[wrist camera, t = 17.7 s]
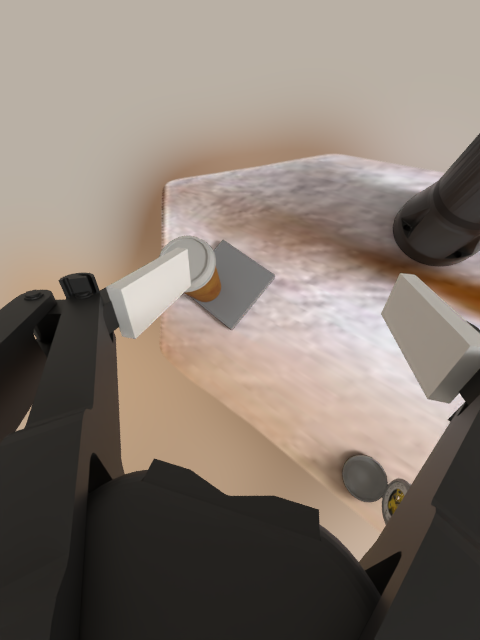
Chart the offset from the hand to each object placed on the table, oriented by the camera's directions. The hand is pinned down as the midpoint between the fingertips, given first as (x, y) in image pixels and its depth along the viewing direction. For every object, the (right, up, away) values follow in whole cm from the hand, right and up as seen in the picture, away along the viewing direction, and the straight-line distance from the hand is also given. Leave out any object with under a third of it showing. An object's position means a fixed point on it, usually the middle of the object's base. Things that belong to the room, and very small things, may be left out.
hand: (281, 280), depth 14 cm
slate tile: (-5, +5, +33) cm, 33 cm away
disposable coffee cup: (-10, +4, +32) cm, 33 cm away
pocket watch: (+18, -29, +22) cm, 41 cm away
